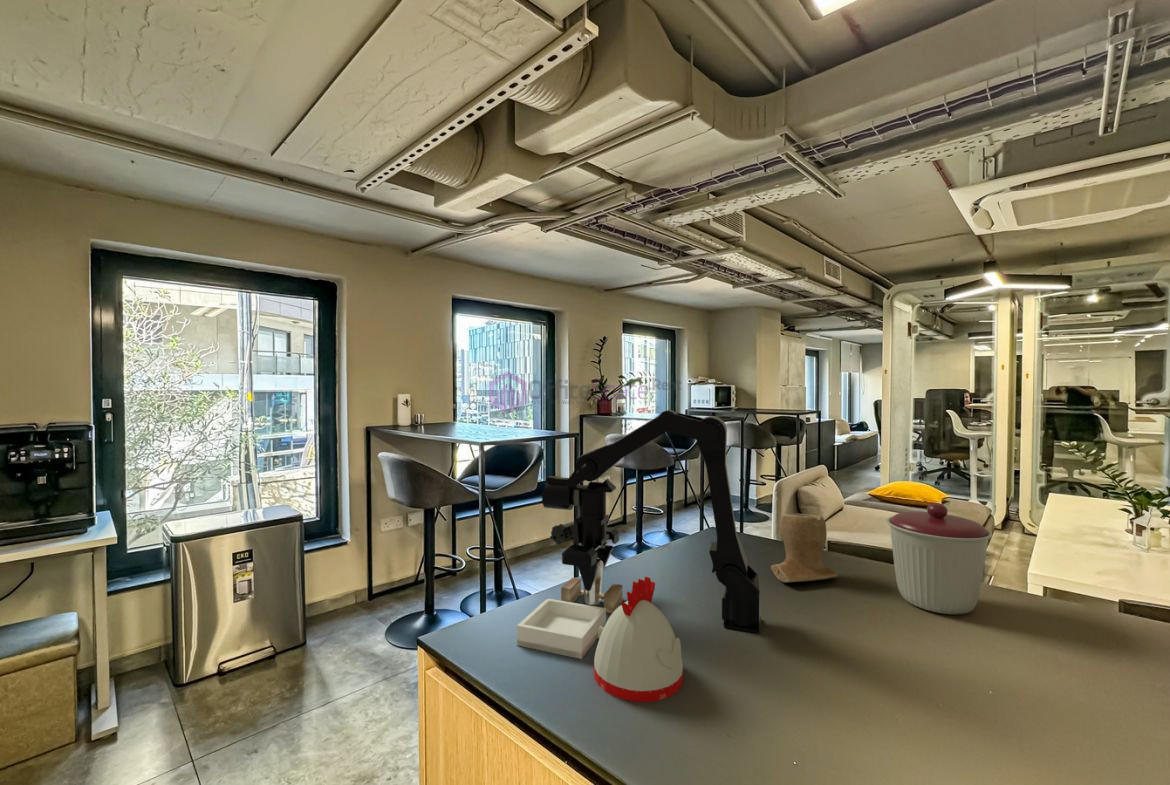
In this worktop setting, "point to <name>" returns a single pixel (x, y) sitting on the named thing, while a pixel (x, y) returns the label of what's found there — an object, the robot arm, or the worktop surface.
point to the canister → (938, 559)
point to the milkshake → (595, 588)
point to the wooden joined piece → (610, 597)
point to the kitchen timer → (638, 650)
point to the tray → (561, 628)
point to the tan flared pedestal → (803, 549)
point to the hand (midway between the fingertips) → (592, 585)
